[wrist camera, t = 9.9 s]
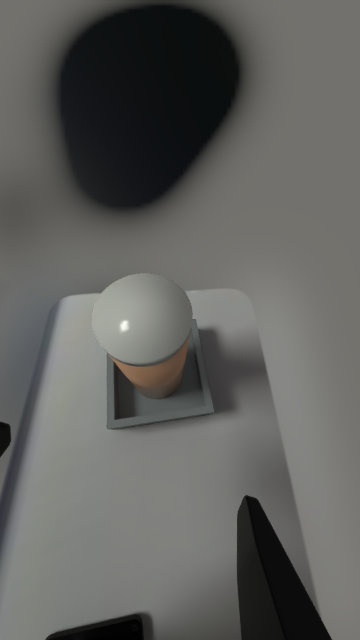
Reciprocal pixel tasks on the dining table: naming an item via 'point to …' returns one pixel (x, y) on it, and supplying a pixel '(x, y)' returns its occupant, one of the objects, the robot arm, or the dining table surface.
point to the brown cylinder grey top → (145, 331)
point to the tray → (184, 403)
